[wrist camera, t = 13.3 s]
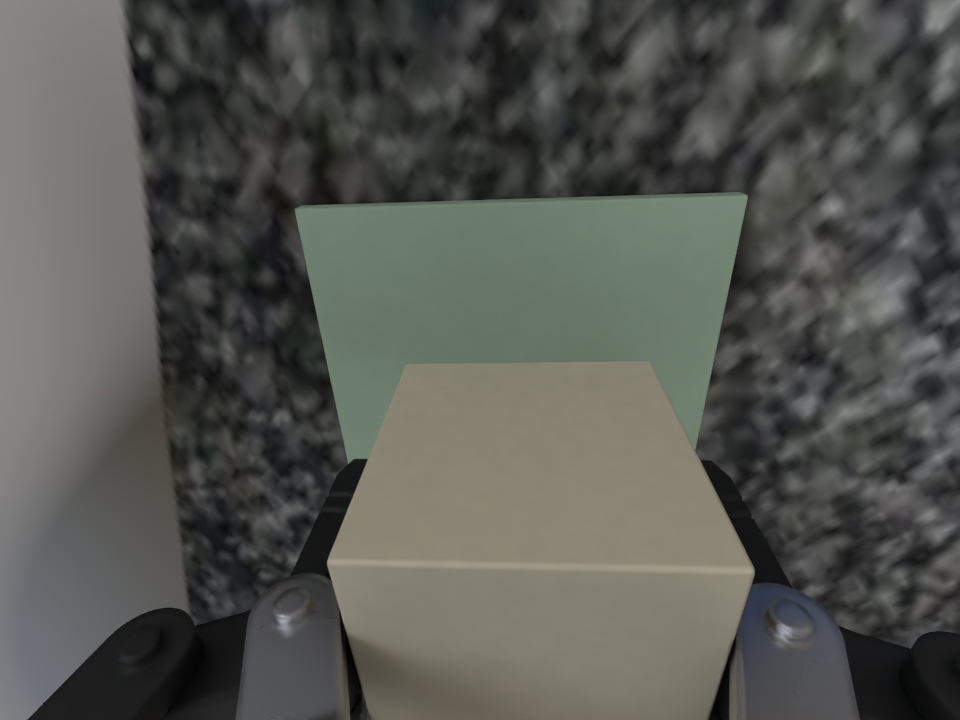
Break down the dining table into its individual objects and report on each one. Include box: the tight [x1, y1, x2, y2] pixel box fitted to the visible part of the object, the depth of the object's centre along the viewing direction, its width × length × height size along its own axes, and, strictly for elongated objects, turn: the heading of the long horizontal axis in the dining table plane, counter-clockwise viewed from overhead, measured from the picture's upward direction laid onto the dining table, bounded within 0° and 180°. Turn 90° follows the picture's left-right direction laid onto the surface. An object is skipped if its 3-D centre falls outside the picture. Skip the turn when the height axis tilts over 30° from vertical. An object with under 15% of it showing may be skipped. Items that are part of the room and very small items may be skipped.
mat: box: [295, 192, 748, 464], centre depth 16 cm, size 12×10×1 cm
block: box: [327, 361, 755, 720], centre depth 9 cm, size 5×5×5 cm
